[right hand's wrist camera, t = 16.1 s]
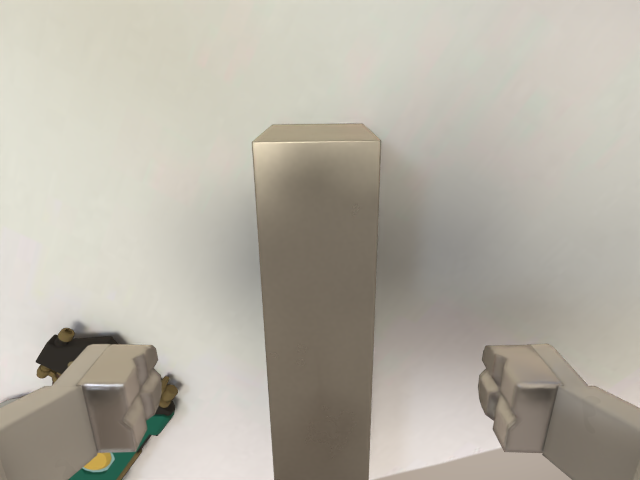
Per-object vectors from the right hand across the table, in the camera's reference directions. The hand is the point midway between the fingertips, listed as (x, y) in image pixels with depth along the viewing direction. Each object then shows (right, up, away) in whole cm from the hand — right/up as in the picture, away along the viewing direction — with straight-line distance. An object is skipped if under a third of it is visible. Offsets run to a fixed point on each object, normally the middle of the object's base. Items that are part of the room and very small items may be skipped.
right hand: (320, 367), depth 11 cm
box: (0, -2, +23) cm, 23 cm away
